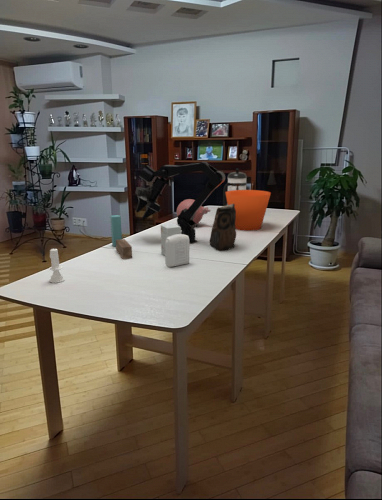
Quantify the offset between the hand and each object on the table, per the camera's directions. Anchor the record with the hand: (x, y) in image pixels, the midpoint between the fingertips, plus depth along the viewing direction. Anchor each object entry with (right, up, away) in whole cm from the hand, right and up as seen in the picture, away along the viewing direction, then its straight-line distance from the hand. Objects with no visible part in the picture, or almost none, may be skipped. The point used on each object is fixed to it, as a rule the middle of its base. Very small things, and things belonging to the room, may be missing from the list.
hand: (139, 215), depth 188 cm
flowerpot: (+57, -4, +31) cm, 65 cm away
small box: (+16, -19, -21) cm, 33 cm away
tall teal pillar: (-10, -15, -6) cm, 19 cm away
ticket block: (-4, -19, -20) cm, 27 cm away
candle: (-23, -28, -51) cm, 62 cm away
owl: (+40, -15, -8) cm, 43 cm away
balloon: (+27, -3, +35) cm, 44 cm away
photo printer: (+20, -23, -34) cm, 45 cm away
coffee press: (+55, +7, +70) cm, 89 cm away
